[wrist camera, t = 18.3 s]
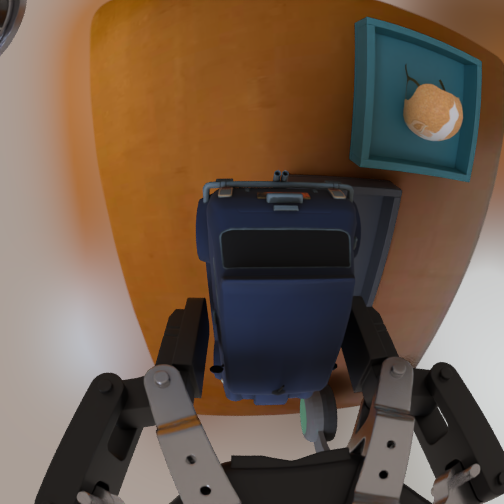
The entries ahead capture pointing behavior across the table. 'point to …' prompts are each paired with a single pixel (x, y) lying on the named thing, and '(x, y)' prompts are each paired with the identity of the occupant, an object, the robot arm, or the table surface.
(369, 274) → the charcoal tray
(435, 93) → the helmet
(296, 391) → the toy car
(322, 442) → the headphones
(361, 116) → the teal tray
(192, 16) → the table surface
